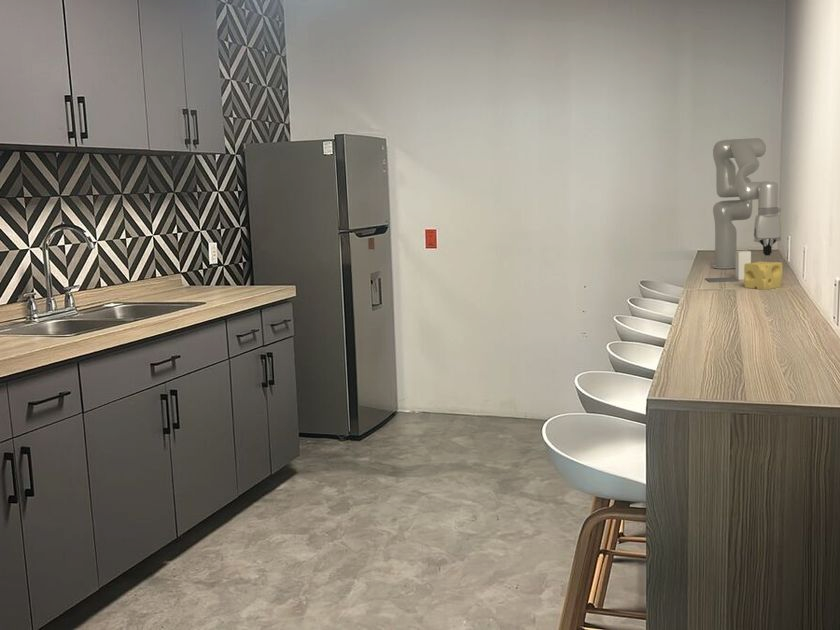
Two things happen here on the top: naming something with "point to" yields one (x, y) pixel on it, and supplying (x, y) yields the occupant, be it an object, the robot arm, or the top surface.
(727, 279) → the mat
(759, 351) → the top surface
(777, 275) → the cheese
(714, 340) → the top surface
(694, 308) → the top surface
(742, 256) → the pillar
